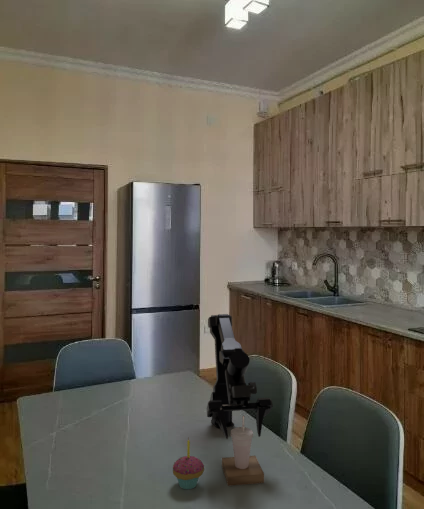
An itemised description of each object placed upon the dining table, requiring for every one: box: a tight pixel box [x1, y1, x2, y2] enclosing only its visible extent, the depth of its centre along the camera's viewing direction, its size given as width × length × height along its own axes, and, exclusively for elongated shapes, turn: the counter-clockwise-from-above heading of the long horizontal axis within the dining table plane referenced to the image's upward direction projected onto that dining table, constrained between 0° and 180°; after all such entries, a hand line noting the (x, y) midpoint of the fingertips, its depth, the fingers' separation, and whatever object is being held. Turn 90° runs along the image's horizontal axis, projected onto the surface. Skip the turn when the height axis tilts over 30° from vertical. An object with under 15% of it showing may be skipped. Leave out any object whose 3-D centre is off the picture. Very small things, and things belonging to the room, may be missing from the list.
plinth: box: [221, 455, 265, 487], centre depth 120 cm, size 10×10×2 cm
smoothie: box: [230, 415, 254, 469], centre depth 119 cm, size 6×6×14 cm
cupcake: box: [172, 436, 205, 490], centre depth 114 cm, size 9×8×12 cm
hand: (243, 437), depth 118 cm, fingers open, 9 cm apart
